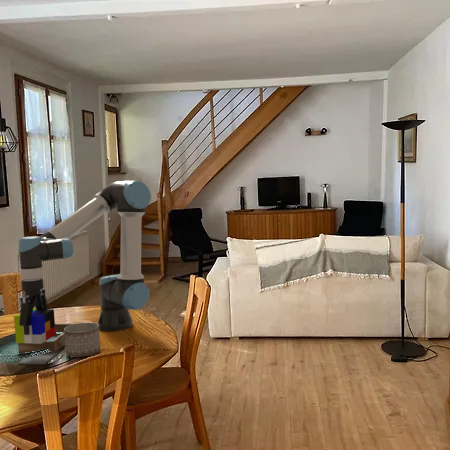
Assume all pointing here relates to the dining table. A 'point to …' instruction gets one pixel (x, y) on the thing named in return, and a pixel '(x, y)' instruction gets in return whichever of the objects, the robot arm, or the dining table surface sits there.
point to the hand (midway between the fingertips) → (36, 338)
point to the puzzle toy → (37, 326)
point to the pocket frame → (51, 345)
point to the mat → (38, 359)
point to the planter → (82, 339)
